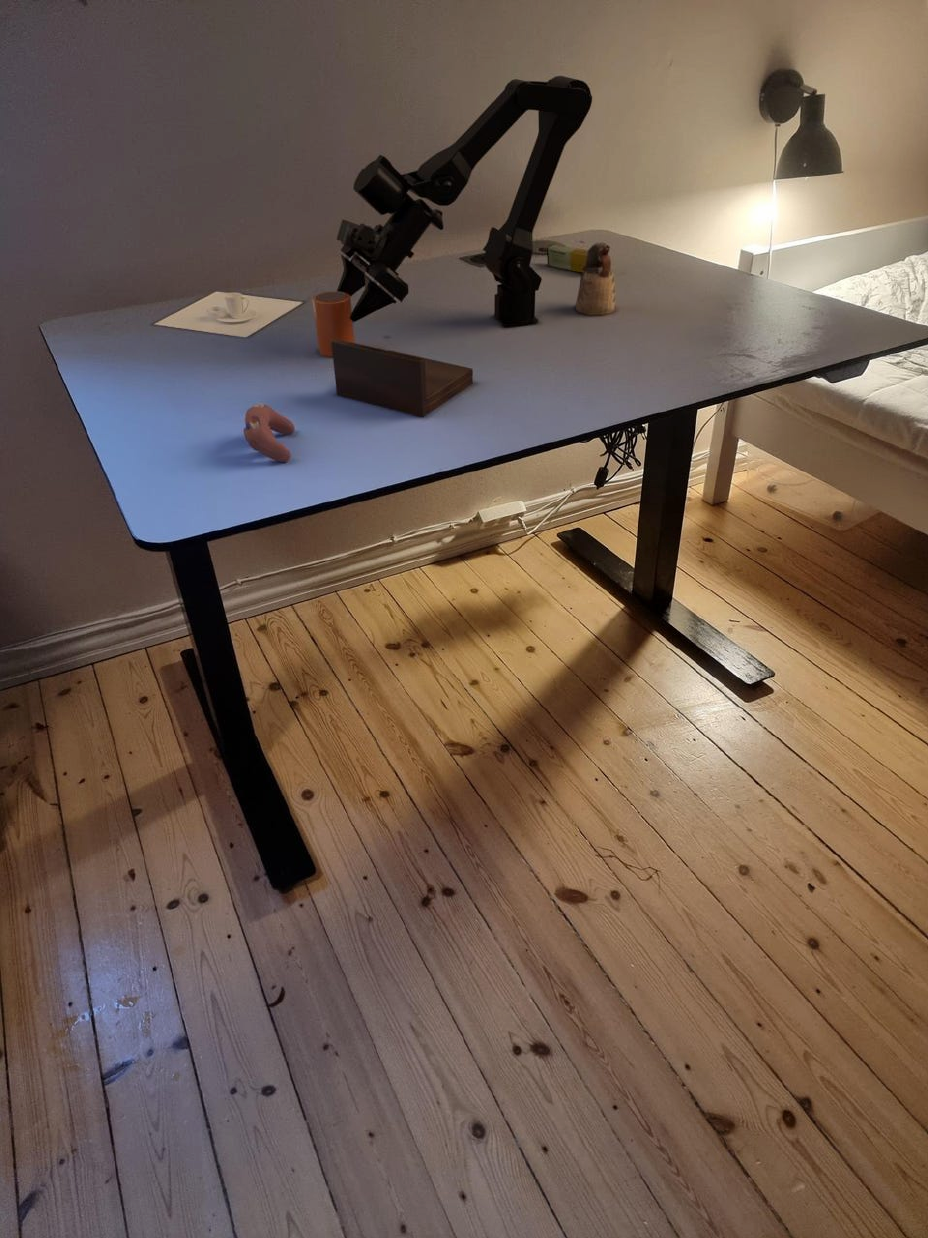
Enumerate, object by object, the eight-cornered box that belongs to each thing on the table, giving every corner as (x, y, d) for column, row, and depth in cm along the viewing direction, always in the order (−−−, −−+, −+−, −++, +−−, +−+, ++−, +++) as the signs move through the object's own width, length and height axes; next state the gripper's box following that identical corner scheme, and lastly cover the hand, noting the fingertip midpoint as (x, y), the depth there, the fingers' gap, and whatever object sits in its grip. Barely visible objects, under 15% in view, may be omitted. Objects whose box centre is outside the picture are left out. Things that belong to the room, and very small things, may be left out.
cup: (360, 345, 154) (355, 292, 148) (346, 358, 149) (341, 304, 143) (327, 342, 155) (321, 289, 149) (313, 355, 150) (306, 301, 145)
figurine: (604, 301, 170) (609, 235, 162) (621, 312, 164) (627, 245, 157) (570, 305, 168) (574, 239, 161) (586, 317, 163) (590, 249, 155)
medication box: (546, 266, 188) (545, 246, 186) (554, 262, 190) (553, 242, 187) (593, 275, 182) (593, 255, 179) (601, 270, 183) (601, 251, 180)
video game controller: (271, 442, 128) (242, 403, 124) (298, 427, 127) (269, 387, 123) (265, 475, 120) (233, 434, 116) (293, 460, 119) (262, 418, 115)
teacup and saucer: (202, 321, 164) (198, 299, 162) (227, 307, 170) (223, 285, 168) (242, 326, 162) (239, 304, 159) (266, 312, 168) (263, 290, 165)
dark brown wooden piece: (390, 364, 147) (386, 312, 141) (473, 383, 140) (472, 330, 135) (336, 395, 137) (330, 341, 132) (422, 417, 130) (420, 361, 125)
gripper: (346, 188, 147) (291, 266, 150) (383, 213, 133) (321, 298, 137) (394, 232, 154) (340, 306, 157) (434, 260, 140) (374, 340, 144)
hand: (343, 311), depth 149 cm, fingers open, 9 cm apart
